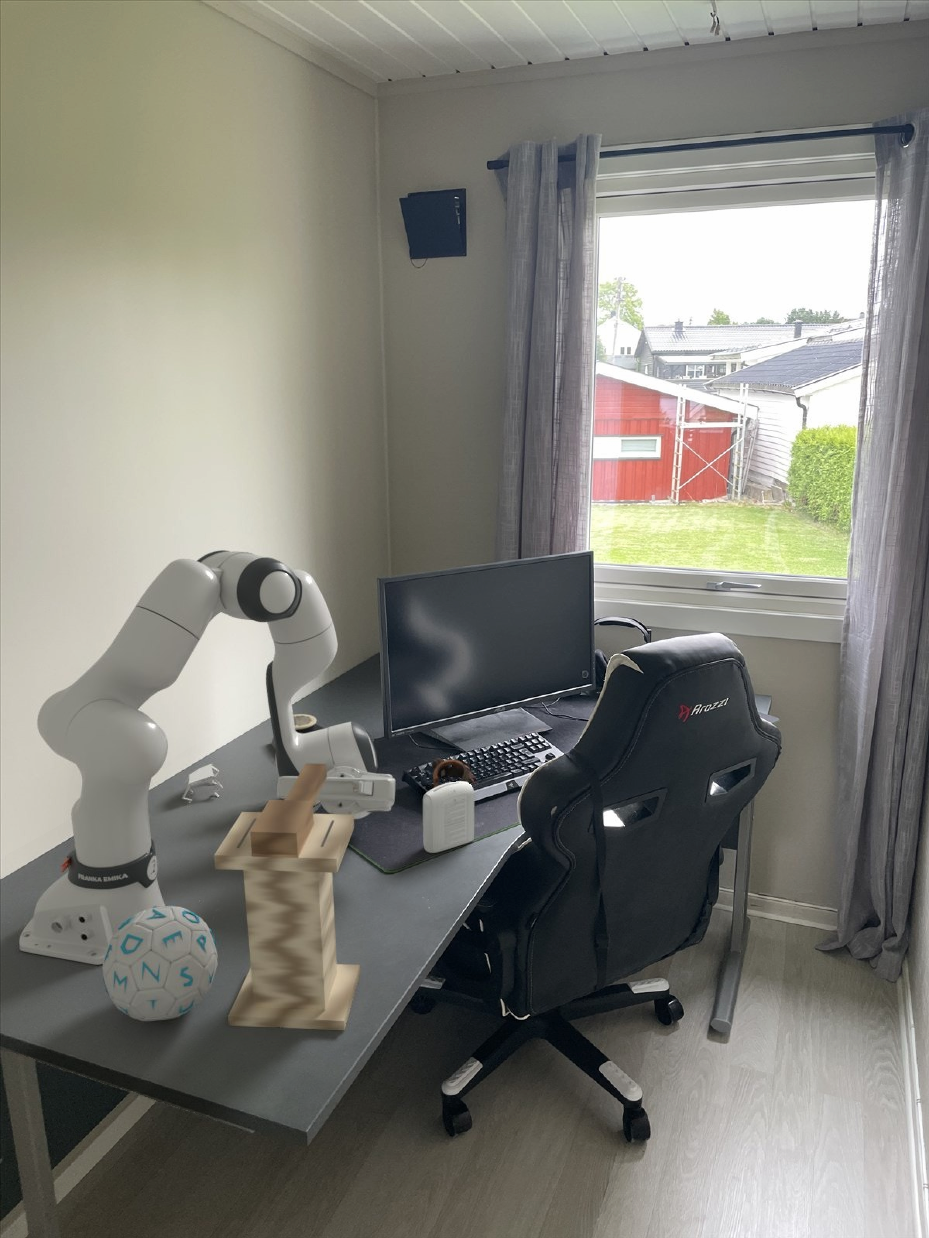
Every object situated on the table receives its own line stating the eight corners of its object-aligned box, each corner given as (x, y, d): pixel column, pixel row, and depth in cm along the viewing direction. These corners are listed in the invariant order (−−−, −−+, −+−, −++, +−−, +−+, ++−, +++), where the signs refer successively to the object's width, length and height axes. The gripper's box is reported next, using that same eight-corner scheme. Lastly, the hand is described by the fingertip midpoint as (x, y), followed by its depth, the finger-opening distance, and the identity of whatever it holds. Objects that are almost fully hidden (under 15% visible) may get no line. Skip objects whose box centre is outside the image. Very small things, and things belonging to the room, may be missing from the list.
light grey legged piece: (221, 805, 187) (219, 783, 186) (180, 806, 187) (178, 784, 185) (231, 780, 199) (230, 759, 198) (193, 781, 198) (191, 760, 197)
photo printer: (465, 832, 176) (465, 773, 172) (477, 841, 172) (477, 781, 169) (419, 846, 170) (418, 786, 167) (431, 856, 167) (430, 795, 163)
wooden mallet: (251, 856, 117) (249, 831, 116) (297, 776, 140) (295, 755, 139) (298, 857, 116) (296, 833, 115) (336, 777, 139) (335, 756, 138)
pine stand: (228, 1025, 124) (214, 854, 117) (254, 969, 135) (242, 811, 128) (344, 1030, 123) (336, 858, 116) (360, 973, 134) (353, 814, 127)
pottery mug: (487, 792, 193) (480, 769, 188) (454, 821, 190) (446, 799, 184) (450, 762, 201) (442, 740, 195) (418, 790, 197) (410, 767, 191)
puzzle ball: (192, 1052, 119) (182, 953, 115) (86, 1039, 121) (73, 942, 117) (238, 978, 133) (230, 888, 129) (143, 968, 136) (133, 880, 132)
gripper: (288, 772, 163) (268, 764, 150) (401, 775, 162) (390, 767, 149) (285, 808, 162) (264, 803, 148) (399, 811, 160) (388, 806, 147)
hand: (328, 785), depth 149 cm, fingers open, 8 cm apart
